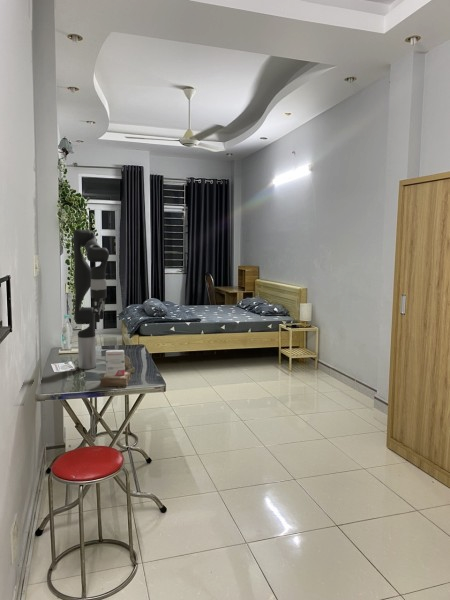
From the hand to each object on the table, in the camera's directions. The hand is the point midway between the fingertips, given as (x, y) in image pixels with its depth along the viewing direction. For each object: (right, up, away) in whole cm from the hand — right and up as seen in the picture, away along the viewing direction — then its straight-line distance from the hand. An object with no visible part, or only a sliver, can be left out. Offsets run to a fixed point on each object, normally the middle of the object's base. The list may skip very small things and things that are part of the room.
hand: (99, 320), depth 231 cm
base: (+10, -30, -6) cm, 32 cm away
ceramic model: (+7, -28, +14) cm, 33 cm away
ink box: (+9, -26, -6) cm, 28 cm away
